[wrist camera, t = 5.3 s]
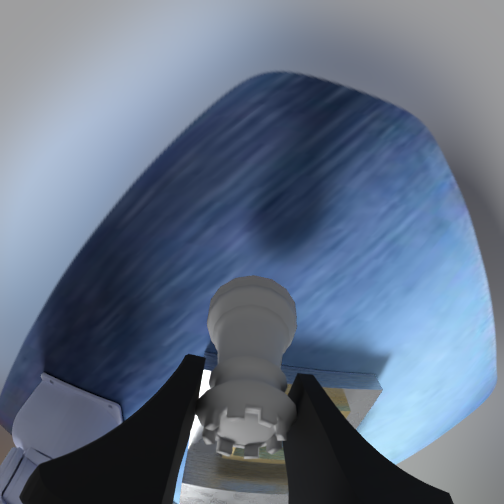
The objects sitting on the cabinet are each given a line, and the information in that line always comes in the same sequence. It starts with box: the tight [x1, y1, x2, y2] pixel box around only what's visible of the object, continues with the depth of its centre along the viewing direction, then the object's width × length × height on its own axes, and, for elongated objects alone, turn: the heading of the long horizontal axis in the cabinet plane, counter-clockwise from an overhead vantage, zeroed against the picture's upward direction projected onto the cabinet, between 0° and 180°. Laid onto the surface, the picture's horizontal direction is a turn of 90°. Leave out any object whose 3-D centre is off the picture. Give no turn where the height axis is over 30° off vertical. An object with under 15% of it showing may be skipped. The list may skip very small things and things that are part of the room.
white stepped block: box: [180, 352, 383, 504], centre depth 20 cm, size 14×18×6 cm
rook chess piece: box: [195, 275, 297, 459], centre depth 11 cm, size 4×4×8 cm
